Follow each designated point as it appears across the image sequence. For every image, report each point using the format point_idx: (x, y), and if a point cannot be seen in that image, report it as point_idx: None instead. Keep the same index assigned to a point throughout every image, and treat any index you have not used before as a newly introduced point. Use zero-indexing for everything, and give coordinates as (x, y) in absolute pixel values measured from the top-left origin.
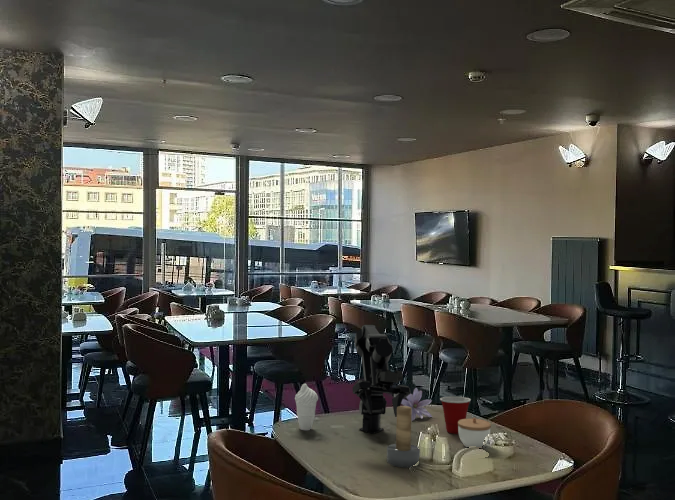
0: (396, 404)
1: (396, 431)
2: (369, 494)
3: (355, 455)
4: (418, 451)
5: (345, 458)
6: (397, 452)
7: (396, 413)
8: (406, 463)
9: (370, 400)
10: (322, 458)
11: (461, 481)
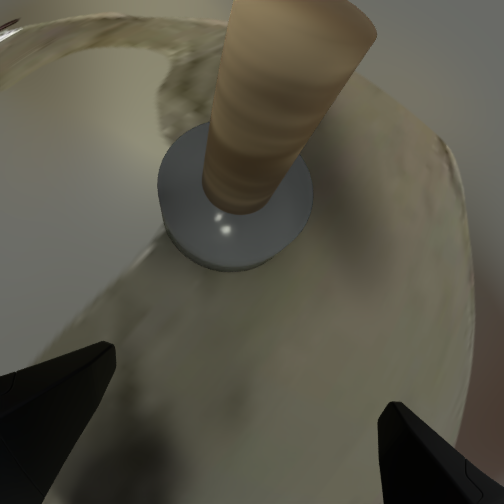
0: (36, 419)
1: (299, 153)
2: (421, 121)
3: (348, 364)
4: (206, 123)
5: (391, 350)
6: (294, 163)
7: (103, 356)
8: None
9: (460, 475)
10: (437, 377)
11: (201, 39)
